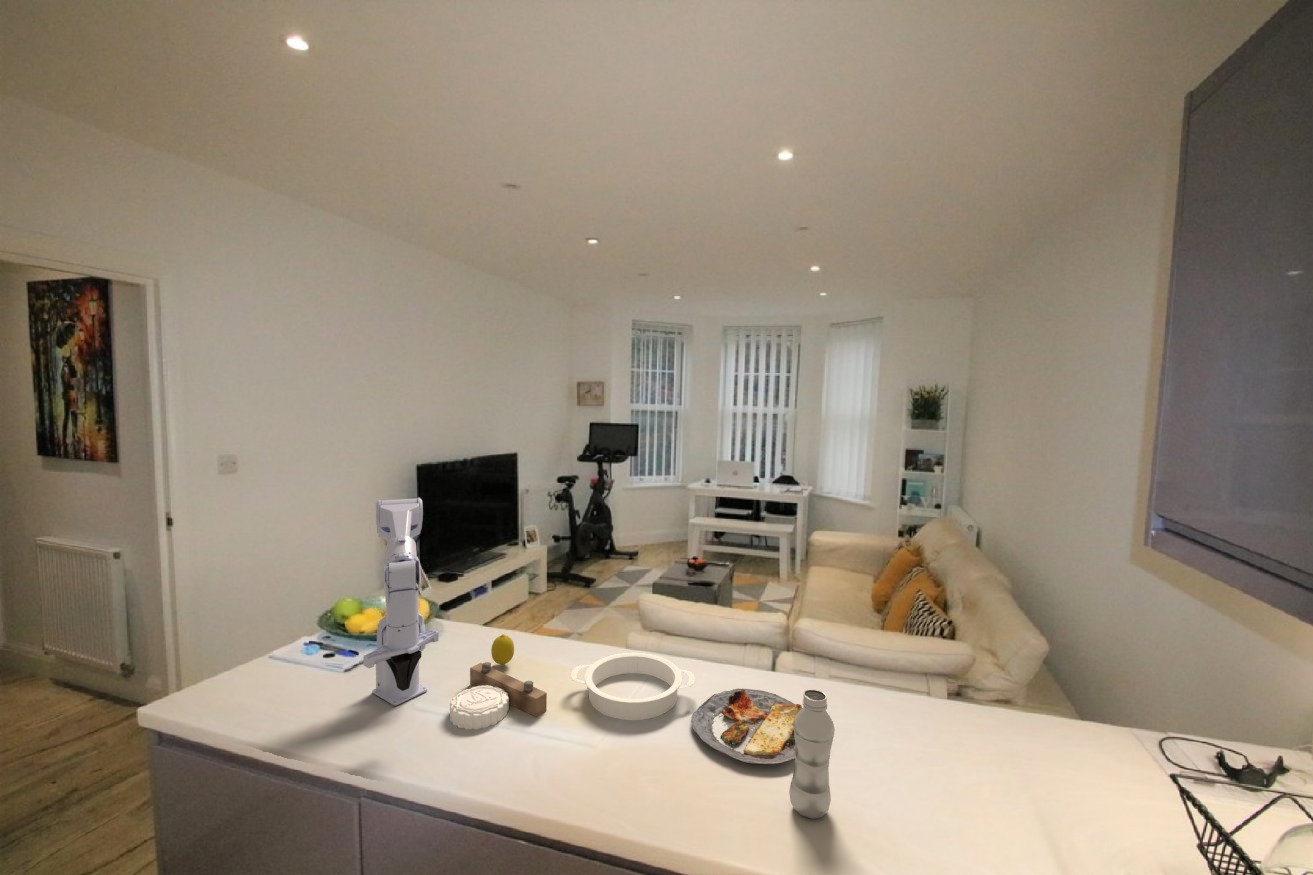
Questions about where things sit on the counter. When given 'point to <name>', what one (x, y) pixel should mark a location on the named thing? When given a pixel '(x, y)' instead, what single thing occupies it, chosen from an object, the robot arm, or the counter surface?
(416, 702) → the counter surface
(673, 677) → the pot
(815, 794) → the plastic bottle
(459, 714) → the mooncake
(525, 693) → the bar
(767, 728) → the food plate
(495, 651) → the lemon
